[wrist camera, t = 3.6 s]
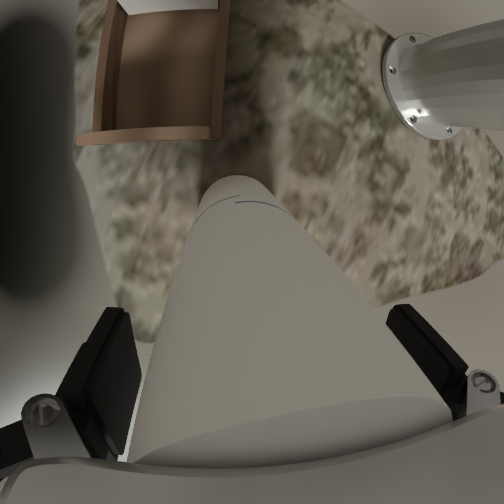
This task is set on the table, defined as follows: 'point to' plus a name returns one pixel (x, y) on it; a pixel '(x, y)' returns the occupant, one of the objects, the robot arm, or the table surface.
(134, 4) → the block
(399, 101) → the robot arm
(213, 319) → the cylindrical container
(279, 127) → the table surface
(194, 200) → the table surface
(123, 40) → the brown wooden tray
